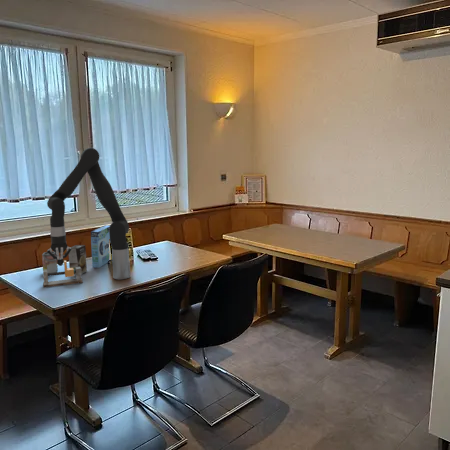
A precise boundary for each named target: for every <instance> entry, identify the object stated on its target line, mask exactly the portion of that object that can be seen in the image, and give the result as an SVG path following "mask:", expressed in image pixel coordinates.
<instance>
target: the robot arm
mask: <svg viewBox="0 0 450 450" xmlns="http://www.w3.org/2000/svg"><path fill="white" fill-rule="evenodd" d="M99 160H100V153H99V151H98V149H96V148H94V147H87V148H85V149H84V150H83V151H82V152H81V154H80V158H79V161H78V163H77V164H76V165H75V167H73V169H72V171H71V172H70V173H69V175H68V176H67V177H66V178H65V179H64V180H63V182H62V183H61V184H60V186H59V188H58V189H57V190H56V191H55V192H54V193H53V194H52V195H50V197H49V198H48V199H47V203H46V204H47V207H48V209H50V210H51V216H50V217H49V224H50V230H49V231H50V244H51V245H50V248H48V249H47V250H46V252H48V253H49V254H50V255H51V256H52V257H53V258H54V259H57V266H59V267H62V266H64V259H66V258H67V257H68V256H69V253H70V251H71V250H72V249H71V247H72V246H71V247H70V246H68V244H67V234H66V233H67V232H66V227H65V226H66V225H65V212H66V204H65V200H66V199H67V198H69V197H71V195H72V194H74V191H75V190H76V189H77V187H78V186H79V185H80V183H81V181H82V180H83V178H84V177H85V176H86V174H88V176H89V179H90V181H91V184H92V187H93V189H94V193H95V194H96V197H97V200H98V202H99V203H100V204H101V206H102V207H103V208H104V209H105V211H106V212H107V214H108V215H109V217H110V220H111V223H110V225H109V226H110V228H109V234H110V243H111V246H112V260H111V261H112V262H111V263H112V277H113V278H112V279H114V280H126V279H129V278H131V262H130V253H129V242H127V233H128V232H129V230H130V225H129V222H128V220H127V219H126V217H125V215H124V213H123V211H122V209H121V207H120V204H119V201H118V199H117V197H116V194H115V192H114V189H113V188H112V185H111V184H110V181H109V180H108V179H107V177H106V176H105V175H104V173H103V171H102V169H101V166H100V162H99ZM65 251H66V252H65ZM52 252H55V253H56V254H57V256H55V255H54V254H53V253H52Z"/></svg>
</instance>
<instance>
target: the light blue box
mask: <svg viewBox="0 0 450 450" xmlns="http://www.w3.org/2000/svg"><path fill="white" fill-rule="evenodd" d="M109 228H110V225H102V226H101V227H98V228H96V229H94V230H92V231H90V245H91V262H92V263H91V264H92V265H91V266H92V268H93V269H95V268H96V269H97V268H98V269H101V267H103V266H105V265H106V264H107V263H109V262H110V261H109V253H108V251H109V239H110V234H109ZM108 261H109V262H108Z"/></svg>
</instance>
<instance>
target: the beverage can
mask: <svg viewBox="0 0 450 450" xmlns="http://www.w3.org/2000/svg"><path fill="white" fill-rule="evenodd" d="M52 253H53V254H54V255H55V256H57V254H56V253H55V252H54V251H52ZM41 256H42V257H41V260H42V271H43V270H46V269H47V273H55V272H59V271H58V270H59V267H58V266H59V265H58V262H57V259H54V258H53V257H52V256H51V255H50V254H49V253H48V252H47V251H45V252H43V253H42V254H41Z"/></svg>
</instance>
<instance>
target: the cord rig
mask: <svg viewBox="0 0 450 450" xmlns="http://www.w3.org/2000/svg"><path fill="white" fill-rule="evenodd" d="M42 272H43V273H42V274H43V282H42V286H43V288H52V287H59V286H68V285H75V284H83V278H82V274H81V268H80V267H76V270H75V269H74V274H75V273H76V275H75V278H68V279H67V278H66V279H61V280H60V279H59V280H51V281H49V277H52V276H53V277H54V276H62V275H63V276H64V275H65V270H63V271H57V272H55V273H47V269H46V270H43V269H42Z"/></svg>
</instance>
